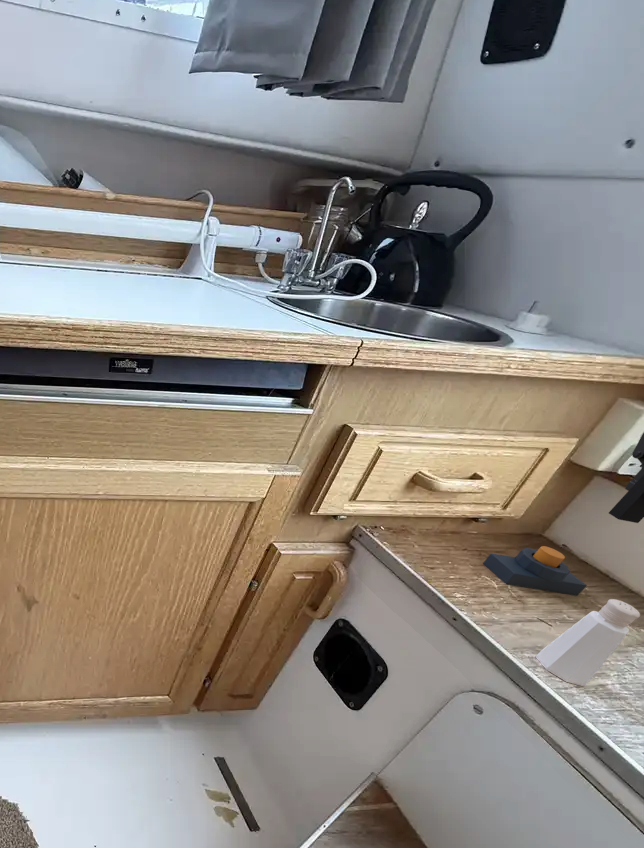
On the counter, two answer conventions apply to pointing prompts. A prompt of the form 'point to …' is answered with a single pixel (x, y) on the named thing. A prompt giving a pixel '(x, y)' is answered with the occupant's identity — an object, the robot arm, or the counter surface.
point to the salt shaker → (588, 643)
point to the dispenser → (533, 573)
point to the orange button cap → (549, 556)
